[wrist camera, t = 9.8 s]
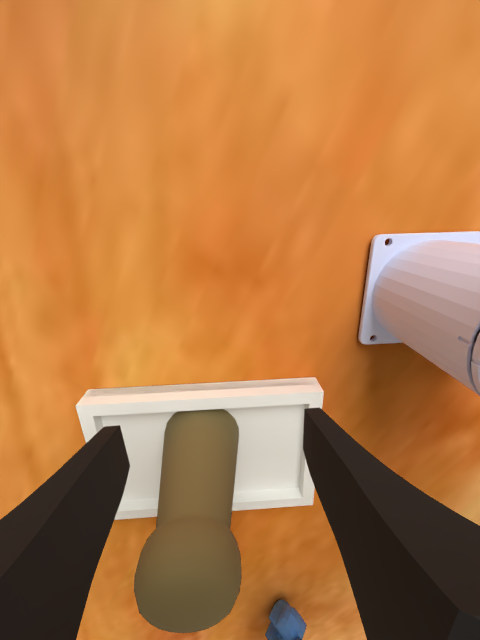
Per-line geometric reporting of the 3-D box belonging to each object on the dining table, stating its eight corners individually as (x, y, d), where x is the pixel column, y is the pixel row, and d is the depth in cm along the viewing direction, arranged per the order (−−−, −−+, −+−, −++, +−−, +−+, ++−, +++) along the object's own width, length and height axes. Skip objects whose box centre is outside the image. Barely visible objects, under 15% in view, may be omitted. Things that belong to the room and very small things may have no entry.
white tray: (315, 377, 22) (323, 391, 20) (306, 484, 27) (312, 504, 25) (88, 389, 22) (75, 405, 20) (116, 498, 26) (107, 520, 24)
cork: (205, 473, 24) (192, 666, 14) (149, 437, 22) (85, 627, 12) (254, 431, 23) (281, 609, 12) (198, 389, 21) (176, 556, 11)
